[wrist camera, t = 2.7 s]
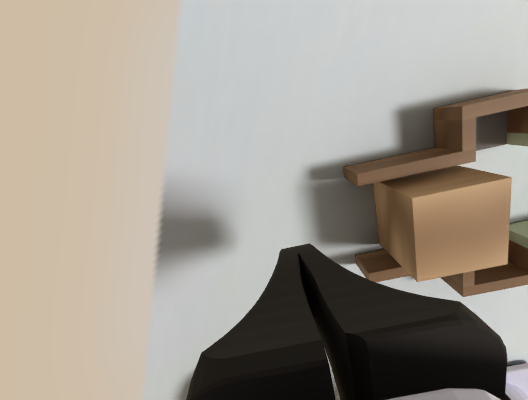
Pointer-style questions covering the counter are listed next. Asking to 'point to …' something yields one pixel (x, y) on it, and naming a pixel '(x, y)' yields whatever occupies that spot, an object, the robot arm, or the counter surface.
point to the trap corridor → (451, 154)
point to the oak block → (445, 221)
